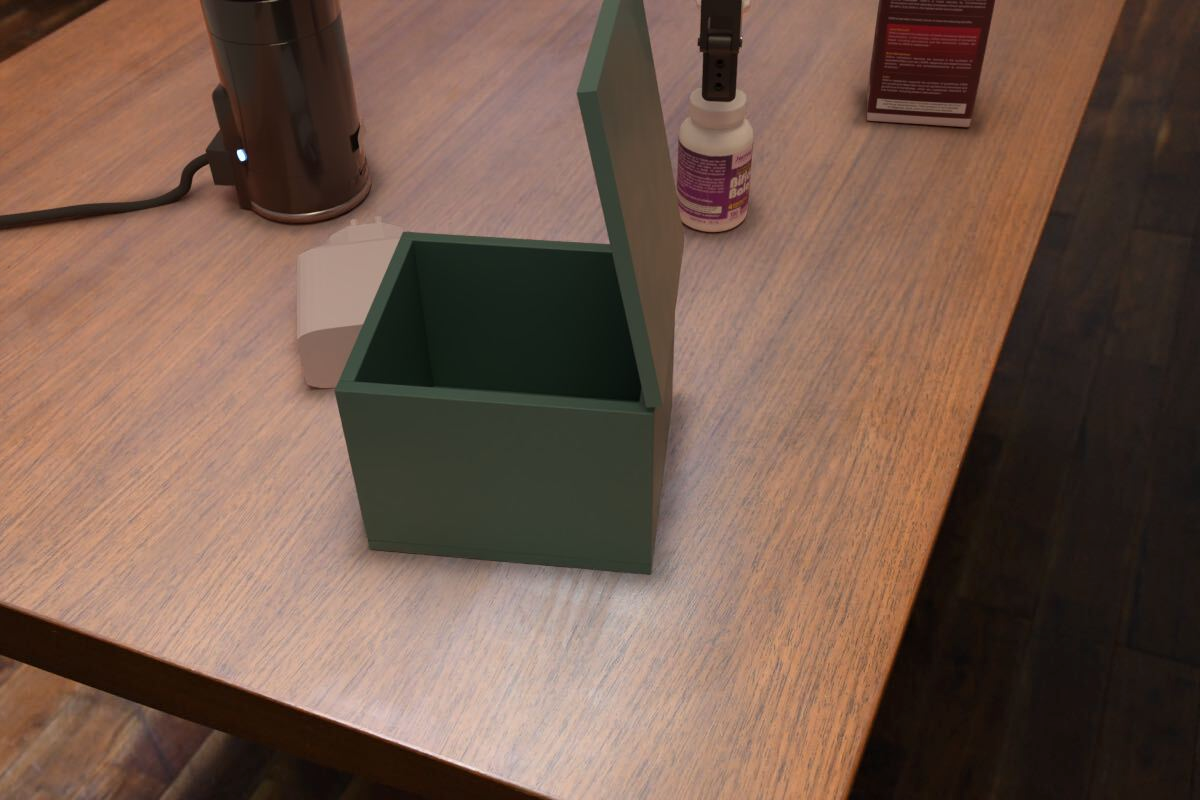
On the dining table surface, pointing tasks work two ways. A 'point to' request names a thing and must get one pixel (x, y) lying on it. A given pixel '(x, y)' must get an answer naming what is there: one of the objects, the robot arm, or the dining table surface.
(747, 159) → the pill bottle
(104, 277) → the dining table surface
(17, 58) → the dining table surface
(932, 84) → the supplement box
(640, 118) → the lid
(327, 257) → the charger
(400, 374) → the chest
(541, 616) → the dining table surface
